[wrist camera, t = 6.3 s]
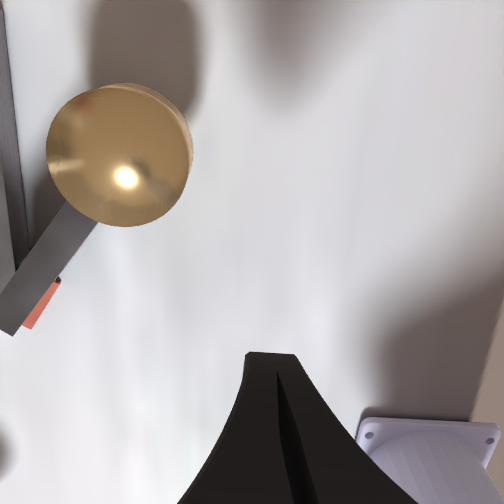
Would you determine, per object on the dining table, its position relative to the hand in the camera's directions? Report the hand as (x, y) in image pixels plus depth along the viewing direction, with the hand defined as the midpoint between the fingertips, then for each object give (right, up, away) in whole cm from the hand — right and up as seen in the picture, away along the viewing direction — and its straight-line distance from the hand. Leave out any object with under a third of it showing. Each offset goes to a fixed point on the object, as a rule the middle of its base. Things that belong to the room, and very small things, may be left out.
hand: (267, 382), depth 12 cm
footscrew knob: (-7, +6, +6) cm, 11 cm away
